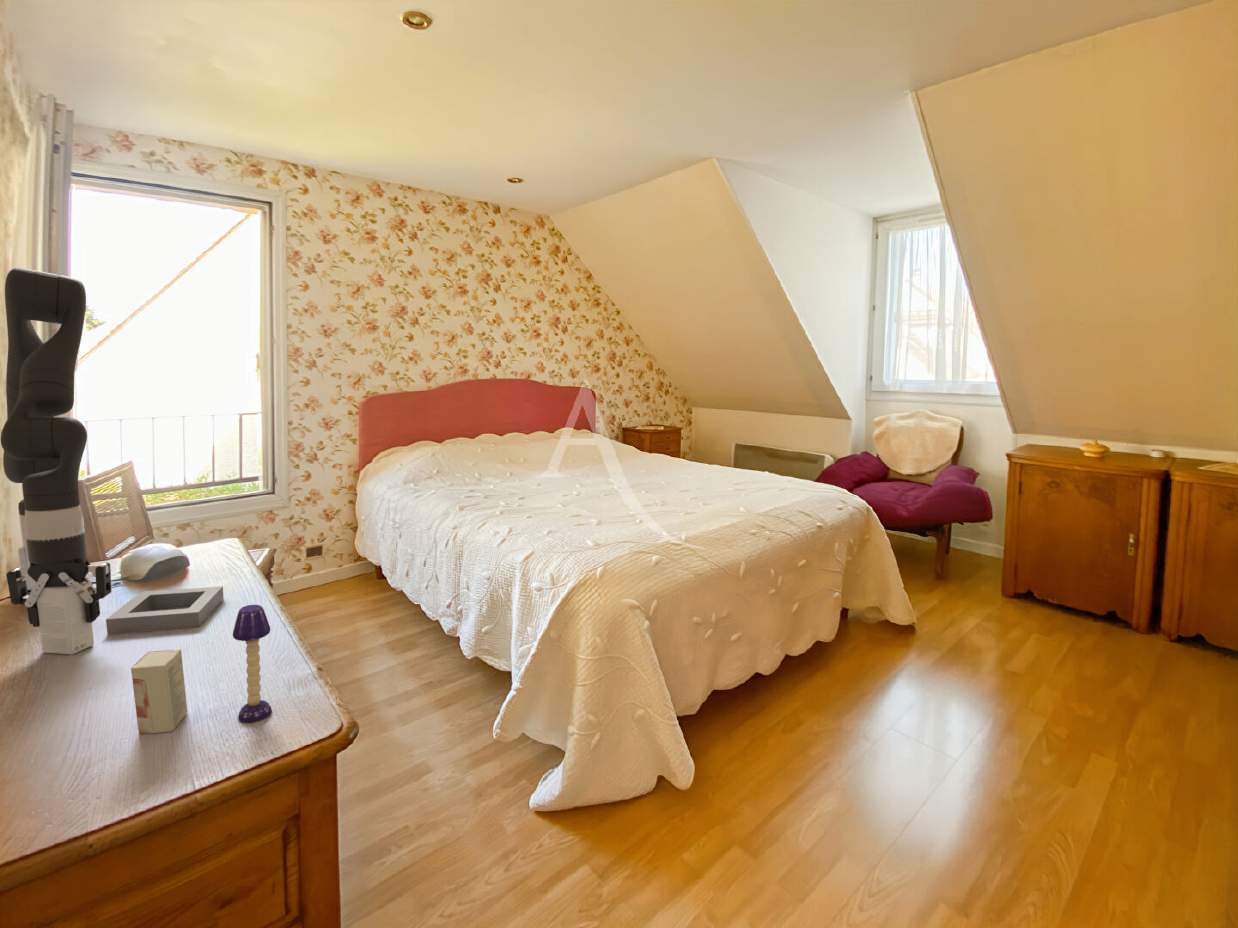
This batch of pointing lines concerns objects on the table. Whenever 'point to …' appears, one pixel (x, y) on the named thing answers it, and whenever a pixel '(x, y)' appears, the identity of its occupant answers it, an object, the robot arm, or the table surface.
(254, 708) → the toy lamp
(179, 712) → the skincare box
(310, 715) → the table surface
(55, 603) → the skincare box
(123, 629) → the socket block
